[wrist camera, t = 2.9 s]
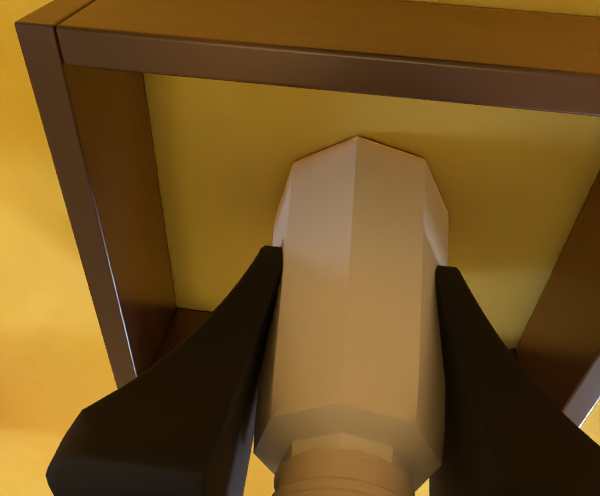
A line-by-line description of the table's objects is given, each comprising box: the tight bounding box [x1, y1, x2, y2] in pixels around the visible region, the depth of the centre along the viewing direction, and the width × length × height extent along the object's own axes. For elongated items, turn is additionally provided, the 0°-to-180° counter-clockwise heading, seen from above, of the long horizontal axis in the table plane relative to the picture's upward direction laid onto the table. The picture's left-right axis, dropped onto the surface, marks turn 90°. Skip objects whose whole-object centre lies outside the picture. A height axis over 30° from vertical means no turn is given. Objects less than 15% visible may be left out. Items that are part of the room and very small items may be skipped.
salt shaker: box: [253, 136, 449, 496], centre depth 13 cm, size 5×5×11 cm
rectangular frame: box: [15, 0, 600, 428], centre depth 15 cm, size 15×13×4 cm
